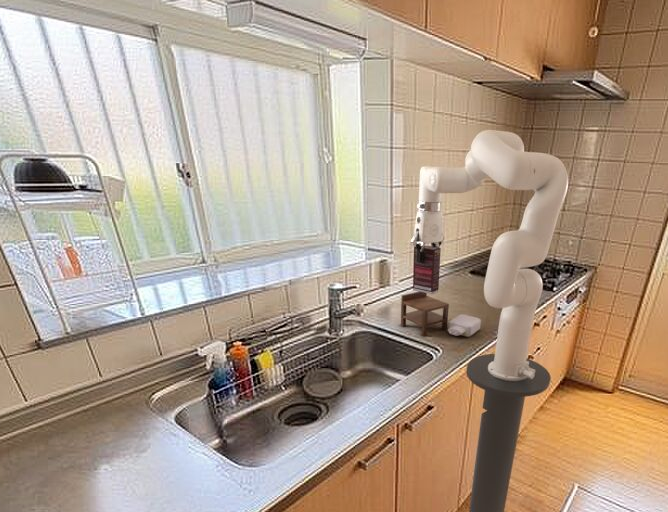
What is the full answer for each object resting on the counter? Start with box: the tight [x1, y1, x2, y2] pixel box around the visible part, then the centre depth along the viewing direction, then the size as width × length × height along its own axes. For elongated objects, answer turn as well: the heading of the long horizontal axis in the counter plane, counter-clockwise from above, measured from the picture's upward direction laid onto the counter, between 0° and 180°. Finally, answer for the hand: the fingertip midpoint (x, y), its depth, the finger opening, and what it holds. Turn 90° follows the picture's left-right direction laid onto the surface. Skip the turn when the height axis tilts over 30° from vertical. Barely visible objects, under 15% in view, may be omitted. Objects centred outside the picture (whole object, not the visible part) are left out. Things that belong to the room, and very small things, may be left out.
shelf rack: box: [400, 291, 450, 337], centre depth 156 cm, size 13×12×12 cm
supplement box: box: [412, 244, 442, 295], centre depth 149 cm, size 9×5×16 cm, turn 59°
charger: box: [447, 313, 482, 338], centre depth 155 cm, size 5×9×15 cm
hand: (427, 261), depth 148 cm, fingers closed on supplement box, 5 cm apart
